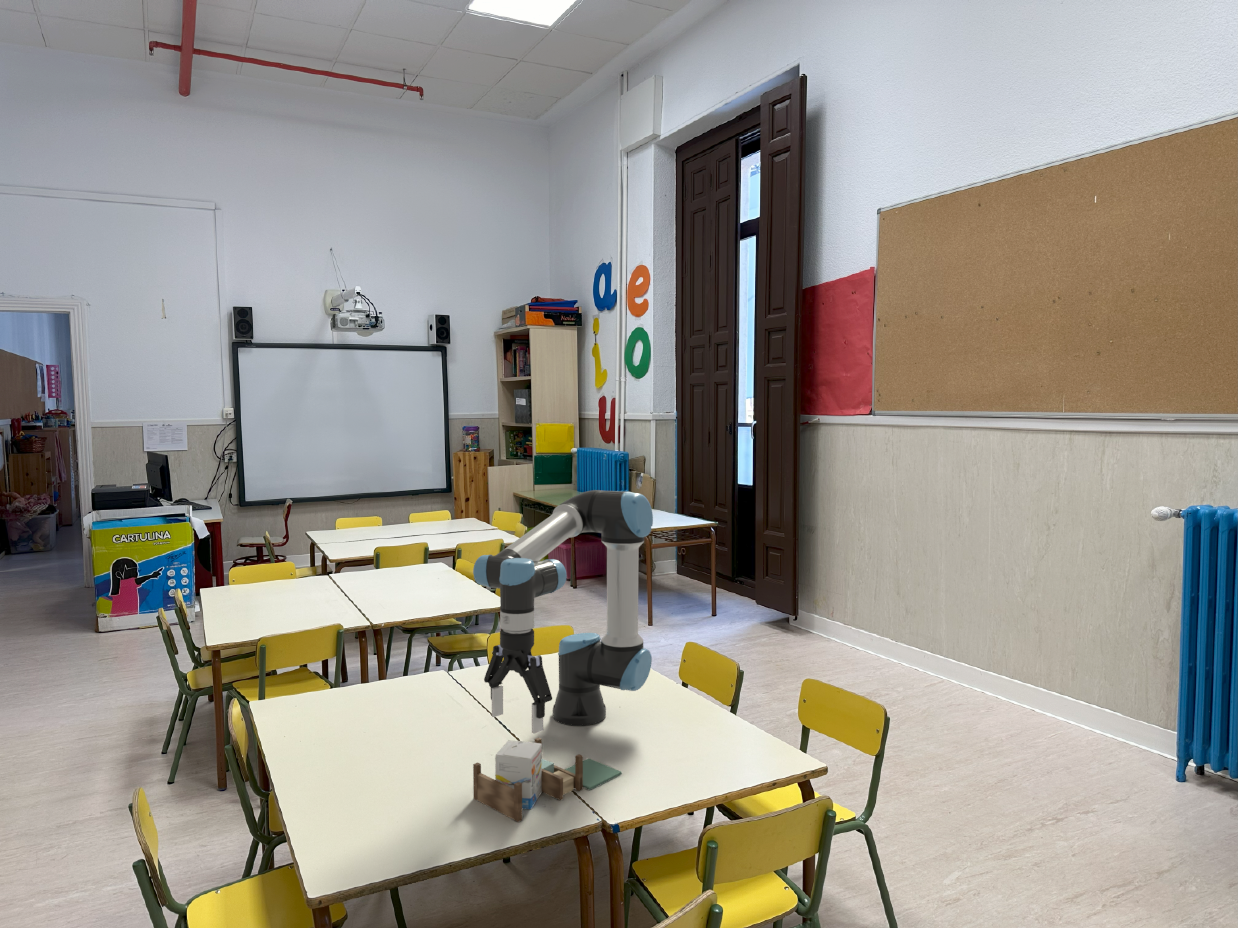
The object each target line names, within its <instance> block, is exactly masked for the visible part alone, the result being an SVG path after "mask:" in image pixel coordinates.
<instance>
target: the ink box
mask: <svg viewBox="0 0 1238 928" xmlns="http://www.w3.org/2000/svg"><path fill="white" fill-rule="evenodd" d="M542 749H543V743H542V744H541V743H535V742H530V741H524V740H523V741H522V740H509V739H508V740H507V741H506V742H505V744H504V745H502V747H500V749H499V750H498V751H497V752H496V753H495V759H494V761H495V773H494V774H495V776H494V778H495V779H494V780H496V781H498V782H500V783H503V784H505V785H507V786H509V787H511V788H513V789H514V783H517V782H520V783H522V810H532V809H533V807H534V805H535V804H536V802H537V801H538V798H539V797H540V796H541V793H543V792H542V759H543V756H542V755H543V750H542Z"/></svg>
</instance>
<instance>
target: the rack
mask: <svg viewBox="0 0 1238 928" xmlns="http://www.w3.org/2000/svg"><path fill="white" fill-rule="evenodd" d="M542 742H543V740H542V738H540V737H536V738H534V743H541V744H542V745H543V743H542ZM574 757H575V758H574V760H575V761H574V762H575V763H574V765H575V774H574V773H571V772H569V771H567V770H565V769H566V768H562V767H559V766H558V765H555V764H554V772H557V771H561V772H563V773H565V774H568V775H570V776H572V777H574V790H575V791H578V792H581V791H583V789H584V788H583V761H584V756H583V755H582V754H579V753H578V754H576V755H575V756H574ZM472 769H473V770H472V771H473V775H472V776H473V781H472V782H473V800H475V801H478V802H479V803H482V804H484V805H486V806H487V807H489V808H490V809H493V810H494V811H496V812H498V813H501V814H502V815H503V816H506V817H508V818H510V819H512V820H514V821H515V822H517V823H519V822H521V821H523V809H522V783H520V782H517V783H514V789H513V788H511V787H509V786H507V785H505V784H503V783H500V782H498V781H496V780H495V779H494V778H492V777H490V776H488V775H486V774H484V773H482V764H481V763H480V762H476V763H473V765H472ZM541 793H543V794H545V795H547V796H549V797H551V798H554V799H556V800H557V801H558V800H559V801H560V802H561V801H562V800H564V795H563V778H562V777H560V776H558V775H556V774H553V773H551V772H549V771H547V770H544V769H542V792H541Z"/></svg>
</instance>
